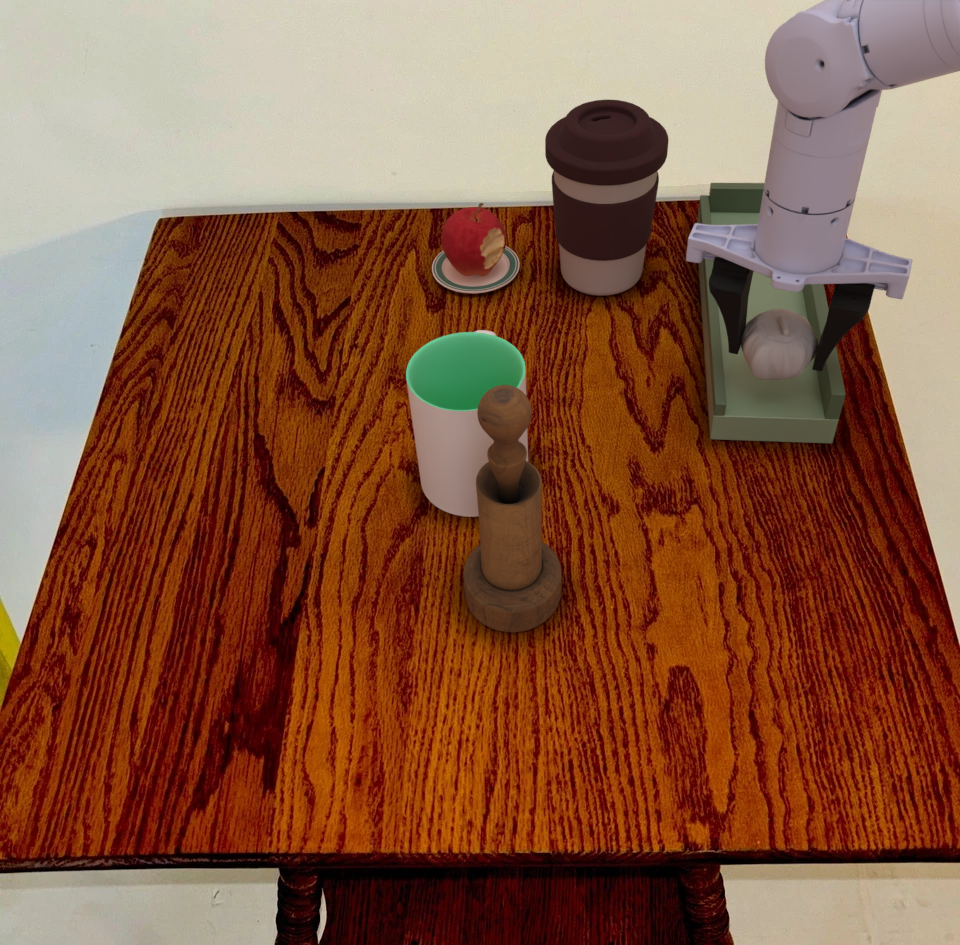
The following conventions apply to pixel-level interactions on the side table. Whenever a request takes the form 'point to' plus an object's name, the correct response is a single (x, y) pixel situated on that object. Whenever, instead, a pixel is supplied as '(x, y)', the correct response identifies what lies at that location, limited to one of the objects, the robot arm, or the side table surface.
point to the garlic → (778, 344)
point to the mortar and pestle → (510, 525)
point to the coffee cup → (604, 192)
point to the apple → (474, 253)
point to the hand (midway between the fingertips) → (776, 353)
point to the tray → (730, 383)
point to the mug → (457, 411)
